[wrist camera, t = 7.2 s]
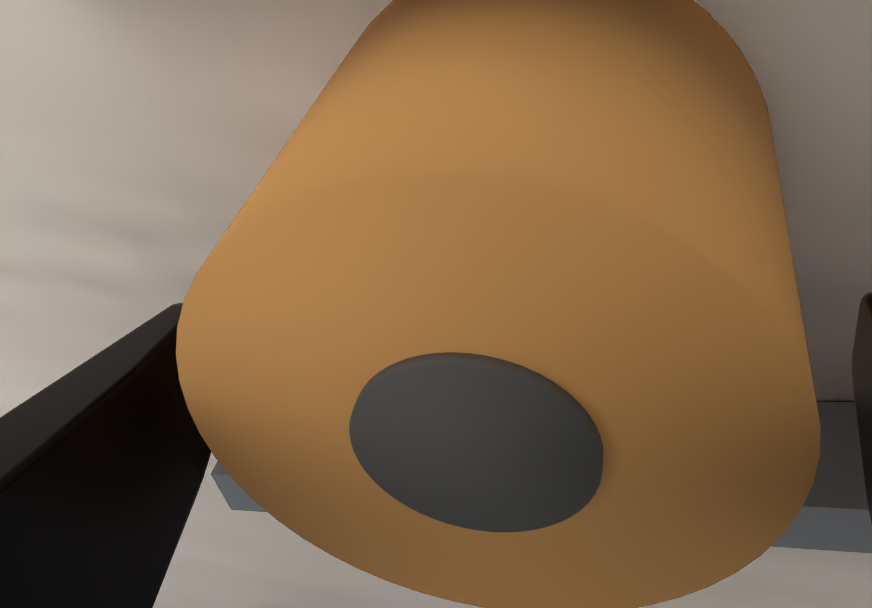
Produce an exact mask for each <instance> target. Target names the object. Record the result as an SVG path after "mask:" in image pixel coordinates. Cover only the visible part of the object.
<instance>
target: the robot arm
mask: <svg viewBox="0 0 872 608" xmlns="http://www.w3.org/2000/svg"><path fill="white" fill-rule="evenodd" d="M182 306H183V303H177V304H174V305H172V306H170V307H168V308H167V309H165V310H164V311H162V312H161V313H159V314H158V315H156V316H155V317H153V318H152V319H150V320H148V321H147V322H145V323H144V324H142V325H141V326H139V327H138V328H136V329H135V330H133V331H132V332H130V333H129V334H127V335H126V336H124V337H123V338H121V339H119V340H118V341H116V342H115V343H113V344H112V345H110V346H109V347H107V348H106V349H104V350H103V351H101V352H100V353H98V354H97V355H95V356H94V357H92V358H90V359H89V360H87V361H86V362H84V363H83V364H81V365H80V366H78V367H77V368H75V369H74V370H72V371H71V372H69V373H68V374H66V375H65V376H63V377H61V378H60V379H58V380H57V381H55V382H54V383H52V384H51V385H49V386H48V387H46V388H45V389H43V390H42V391H40V392H39V393H37V394H36V395H34V396H32V397H31V398H29V399H28V400H26V401H25V402H23V403H22V404H20V405H19V406H17V407H16V408H14V409H13V410H11V411H10V412H8V413H7V414H5V415H3V416H2V417H0V608H152V607H153V605H154V602H155V600H156V597H157V595H158V592H159V590H160V587H161V584H162V582H163V579H164V577H165V574H166V572H167V569H168V567H169V564H170V562H171V559H172V557H173V554H174V552H175V549H176V547H177V544H178V542H179V539H180V537H181V534H182V531H183V529H184V526H185V524H186V521H187V519H188V516H189V514H190V511H191V509H192V506H193V504H194V501H195V499H196V496H197V494H198V491H199V488H200V485H201V483H202V480H203V477H204V474H205V471H206V467H207V464H208V461H209V458H210V454H211V450H210V449H209V447H208V446H207V444H206V442H205V441H204V439H203V438H202V436H201V435H200V433H199V431H198V429H197V427H196V425H195V423H194V420H193V418H192V416H191V414H190V412H189V410H188V408H187V405H186V401H185V398H184V395H183V392H182V388H181V385H180V382H179V375H178V367H177V360H176V340H177V326H178V322H179V318H180V314H181V310H182ZM852 378H853V387H854V395H855V404H856V412H857V420H858V429H859V437H860V446H861V454H862V463H863V471H864V480H865V488H866V495H867V501H868V508H869V514H870V519H871V523H872V292H869V293H867V294H865V295H864V296H863V298H862V300H861V303H860V308H859V314H858V321H857V327H856V334H855V340H854V347H853V354H852Z"/></svg>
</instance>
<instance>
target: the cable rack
mask: <svg viewBox="0 0 872 608" xmlns="http://www.w3.org/2000/svg"><path fill="white" fill-rule="evenodd" d="M817 408H818V414H819V420H820V458H819V462H818V466H817V470H816V474H815V478H814V482H813V486H812V488H811V490H810V492H809V494H808V496H807V498H806V500H805V502H804V504H803V507H802V509H801V511H800V512H799V514H798V515H797V516H796V518H795V519H794V520H793V522H792V523H791V524H790V526H789V527H788V528H787V530H786V531H785V532H784V534H783V535H782V536H781V537H780V538H779V539H778V540H777V541H776V542H775V543H774V544H773V545H771V546H774V547H789V548H804V549H818V550H833V551H848V552H863V553H872V523H871V519H870V514H869V508H868V501H867V495H866V488H865V480H864V471H863V463H862V454H861V446H860V437H859V429H858V420H857V412H856V404H855V402H817ZM211 475H212V477H213V479H214V480H215V482H216V484H217V485H218V487H219V489H220V491H221V492H222V494H223V496H224V498H225V499H226V501H227V503H228V505H229V506H230V508H231V510H245V511H260V512H267V511H266V510H265V509H264V508H262V507H261V506H260V505H259V504H258V503H256V502H255V501H254V500H253V499H252V498H251V497H250V496H249V495H248V494H247V493H246V492H245V491H244V490H243V489H242V488H241V487H240V486H239V485H238V484H237V483H236V482H235V481H234V480H233V479H232V477H231V476H230V475H229V474H228V472H227V471H226V470H225V469H224V468H223V466H222V465H221V464H220V463H219V461H218V462H217V464H216V466H215V467H214V469H213V471H212V473H211Z"/></svg>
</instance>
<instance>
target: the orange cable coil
mask: <svg viewBox="0 0 872 608" xmlns="http://www.w3.org/2000/svg"><path fill="white" fill-rule="evenodd" d="M176 360H177V367H178V375H179V382H180V385H181V388H182V392H183V395H184V398H185V401H186V405H187V408H188V410H189V412H190V414H191V416H192V418H193V420H194V423H195V425H196V427H197V429H198V431H199V433H200V435H201V436H202V438H203V439H204V441H205V442H206V444H207V446H208V447H209V449H210V450H211V452H212V453H213V455H214V456H215V458H216V459H217V460H218V461H219V463H220V464H221V465H222V466H223V468H224V469H225V470H226V471H227V472H228V474H229V475H230V476H231V477H232V479H233V480H234V481H235V482H236V483H237V484H238V485H239V486H240V487H241V488H242V489H243V490H244V491H245V492H246V493H247V494H248V495H249V496H250V497H251V498H252V499H253V500H254V501H255V502H256V503H258V504H259V505H260V506H261V507H262V508H264V509H265V510H266V511H267V512H268V513H270V514H271V515H272V516H273V517H274V518H276V519H277V520H278V521H279V522H281V523H282V524H284V525H285V526H286V527H288V528H289V529H291V530H292V531H293V532H295V533H296V534H298V535H299V536H301V537H302V538H303V539H305V540H307V541H308V542H310V543H312V544H313V545H315V546H317V547H319V548H320V549H322V550H324V551H325V552H327V553H329V554H330V555H332V556H334V557H336V558H338V559H340V560H342V561H344V562H346V563H348V564H350V565H352V566H354V567H356V568H358V569H360V570H362V571H365V572H367V573H370V574H372V575H374V576H377V577H379V578H382V579H384V580H386V581H389V582H391V583H394V584H397V585H400V586H403V587H406V588H409V589H412V590H415V591H418V592H421V593H424V594H428V595H432V596H436V597H439V598H443V599H447V600H450V601H455V602H460V603H465V604H470V605H475V606H479V607H484V608H637V607H643V606H649V605H653V604H657V603H660V602H664V601H668V600H672V599H676V598H679V597H682V596H685V595H687V594H690V593H693V592H695V591H698V590H701V589H703V588H706V587H709V586H711V585H713V584H715V583H717V582H719V581H720V580H722V579H724V578H726V577H728V576H730V575H732V574H734V573H736V572H738V571H739V570H740V569H742V568H743V567H745V566H746V565H748V564H749V563H751V562H752V561H754V560H755V559H756V558H758V557H759V556H761V555H762V554H763V553H764V552H765V551H766V550H767V549H768V548H769V547H770V546H771V545H773V544H774V543H775V542H776V541H777V540H778V539H779V538H780V537H781V536H782V535H783V534H784V532H785V531H786V530H787V528H788V527H789V526H790V524H791V523H792V522H793V520H794V519H795V518H796V516H797V515H798V514H799V512H800V511H801V509H802V507H803V504H804V502H805V500H806V498H807V496H808V494H809V492H810V490H811V488H812V486H813V482H814V478H815V474H816V470H817V466H818V462H819V458H820V420H819V414H818V408H817V402H816V396H815V390H814V384H813V378H812V372H811V366H810V360H809V354H808V348H807V342H806V336H805V330H804V324H803V318H802V312H801V306H800V300H799V294H798V288H797V282H796V276H795V270H794V264H793V258H792V252H791V246H790V240H789V234H788V228H787V222H786V216H785V210H784V204H783V198H782V192H781V186H780V180H779V174H778V168H777V162H776V156H775V150H774V144H773V138H772V132H771V127H770V121H769V116H768V110H767V106H766V103H765V100H764V98H763V95H762V92H761V89H760V86H759V84H758V81H757V79H756V77H755V75H754V73H753V71H752V70H751V68H750V66H749V64H748V62H747V60H746V59H745V57H744V55H743V53H742V52H741V51H740V49H739V48H738V47H737V45H736V44H735V43H734V41H733V40H732V39H731V38H730V36H729V35H728V34H727V32H726V31H725V30H724V29H723V27H721V26H720V25H719V24H718V23H717V22H716V21H715V20H714V19H713V18H712V17H711V16H710V15H709V14H708V13H707V12H706V11H705V10H704V9H703V8H702V7H701V6H700V5H698V4H697V3H695V2H694V1H692V0H393V1H392V2H391V3H390V4H389V5H388V6H387V7H386V8H385V9H384V10H383V11H382V12H381V13H380V14H379V15H378V16H377V17H376V18H375V19H374V20H373V21H372V22H371V23H370V24H369V26H368V27H367V28H366V30H365V31H364V32H363V34H362V35H361V36H360V38H359V39H358V40H357V42H356V43H355V44H354V46H353V47H352V49H351V50H350V52H349V53H348V55H347V56H346V58H345V59H344V60H343V62H342V63H341V65H340V66H339V68H338V69H337V71H336V72H335V73H334V75H333V76H332V78H331V79H330V81H329V82H328V84H327V85H326V87H325V88H324V89H323V91H322V92H321V94H320V95H319V97H318V98H317V100H316V101H315V103H314V104H313V105H312V107H311V108H310V110H309V111H308V113H307V114H306V116H305V117H304V119H303V120H302V121H301V123H300V124H299V126H298V127H297V129H296V130H295V132H294V133H293V135H292V136H291V137H290V139H289V140H288V142H287V143H286V145H285V146H284V148H283V149H282V151H281V152H280V153H279V155H278V156H277V158H276V159H275V161H274V162H273V164H272V165H271V167H270V168H269V169H268V171H267V172H266V174H265V175H264V177H263V178H262V180H261V181H260V183H259V184H258V185H257V187H256V188H255V190H254V191H253V193H252V194H251V196H250V197H249V199H248V200H247V201H246V203H245V204H244V206H243V207H242V209H241V210H240V212H239V213H238V215H237V216H236V217H235V219H234V220H233V222H232V223H231V225H230V226H229V228H228V229H227V231H226V232H225V233H224V235H223V236H222V238H221V239H220V241H219V242H218V244H217V245H216V247H215V248H214V249H213V251H212V252H211V254H210V255H209V257H208V258H207V260H206V261H205V263H204V264H203V265H202V267H201V268H200V270H199V271H198V273H197V274H196V276H195V278H194V280H193V283H192V285H191V287H190V289H189V291H188V293H187V295H186V297H185V299H184V302H183V306H182V310H181V314H180V318H179V322H178V326H177V340H176Z"/></svg>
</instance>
